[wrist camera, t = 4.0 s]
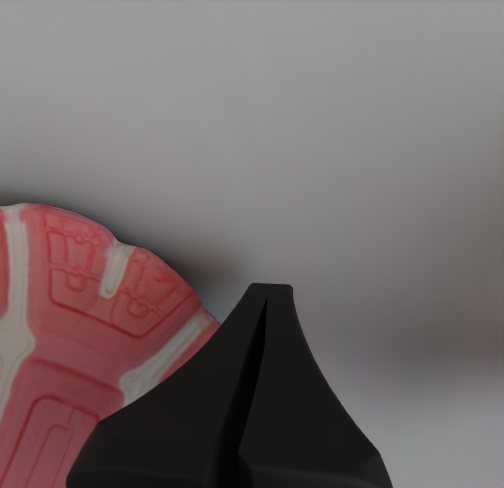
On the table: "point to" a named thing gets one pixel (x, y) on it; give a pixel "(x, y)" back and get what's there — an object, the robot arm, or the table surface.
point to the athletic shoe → (80, 335)
